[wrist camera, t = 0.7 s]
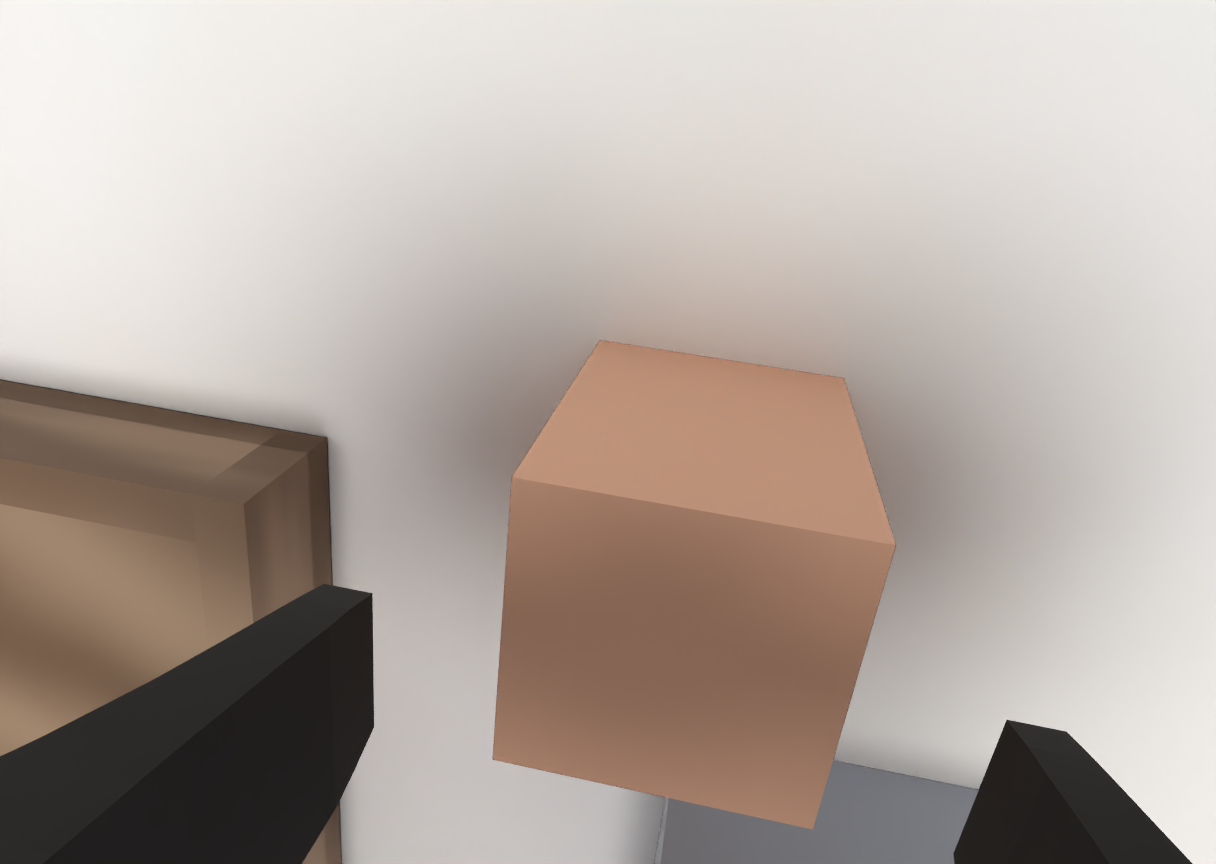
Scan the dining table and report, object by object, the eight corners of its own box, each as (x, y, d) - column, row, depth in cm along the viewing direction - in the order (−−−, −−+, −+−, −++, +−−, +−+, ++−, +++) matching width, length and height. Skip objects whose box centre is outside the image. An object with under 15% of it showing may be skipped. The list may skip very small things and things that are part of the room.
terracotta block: (794, 585, 16) (812, 829, 11) (577, 545, 17) (492, 759, 11) (843, 377, 15) (895, 545, 9) (600, 339, 15) (512, 477, 10)
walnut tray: (342, 907, 23) (285, 1018, 20) (-112, 795, 24) (-222, 883, 22) (326, 437, 17) (243, 503, 14) (-268, 332, 18) (-447, 373, 16)
